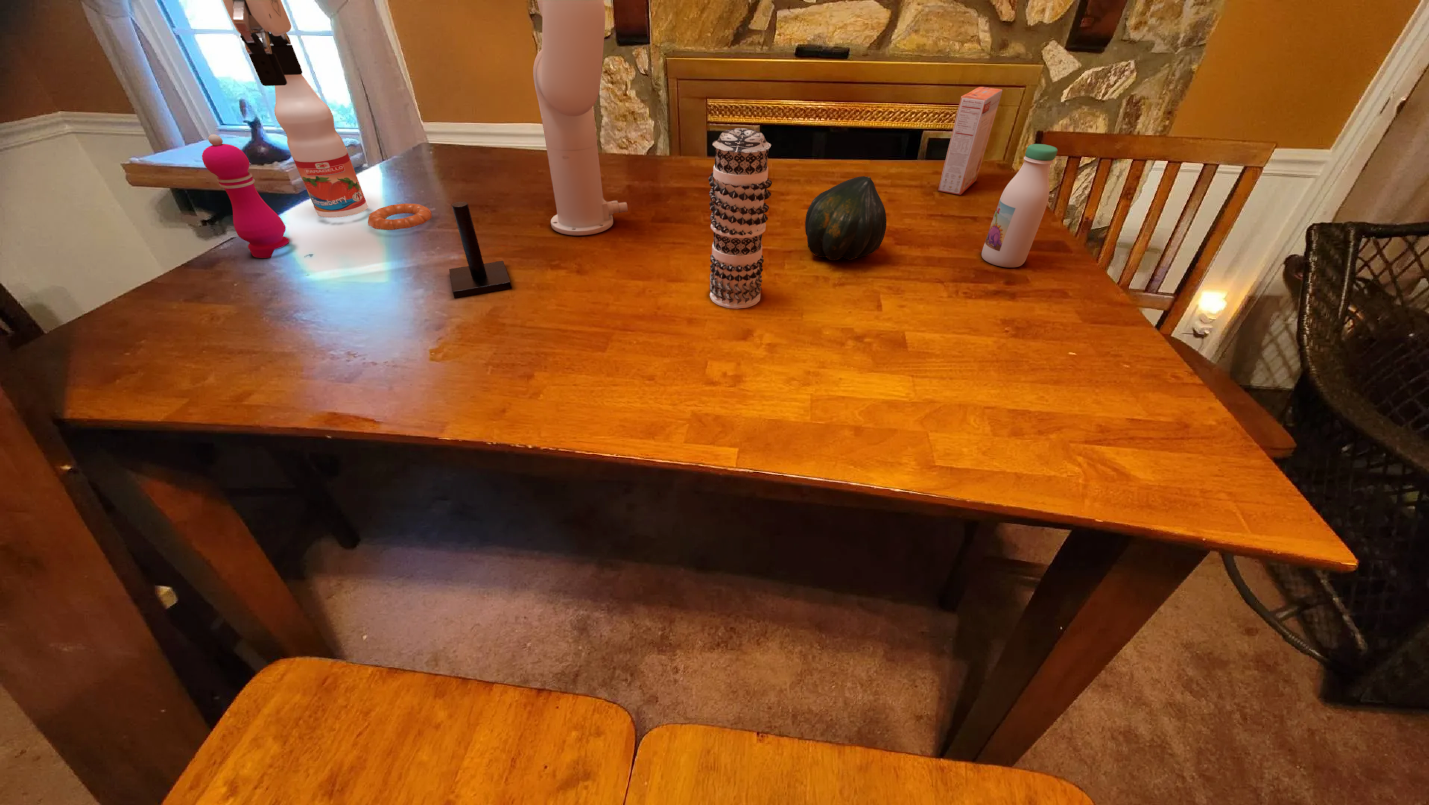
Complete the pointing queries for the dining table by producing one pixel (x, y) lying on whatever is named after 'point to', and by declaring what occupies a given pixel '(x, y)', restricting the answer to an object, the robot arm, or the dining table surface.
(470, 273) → the stand
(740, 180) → the decorative candle
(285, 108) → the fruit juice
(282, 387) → the dining table surface
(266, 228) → the pepper mill
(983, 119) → the cracker box
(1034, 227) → the milk bottle
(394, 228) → the ring
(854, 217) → the squash
